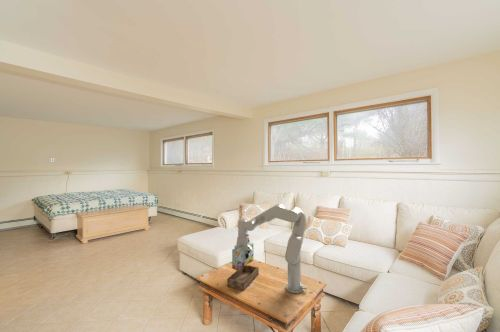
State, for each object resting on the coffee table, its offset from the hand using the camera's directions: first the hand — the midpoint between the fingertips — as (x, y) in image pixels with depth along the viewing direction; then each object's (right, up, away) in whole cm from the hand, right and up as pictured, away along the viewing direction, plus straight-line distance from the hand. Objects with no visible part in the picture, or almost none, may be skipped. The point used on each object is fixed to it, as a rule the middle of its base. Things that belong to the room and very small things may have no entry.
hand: (243, 257), depth 186 cm
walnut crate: (0, -19, 0) cm, 19 cm away
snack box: (0, -6, 0) cm, 6 cm away
